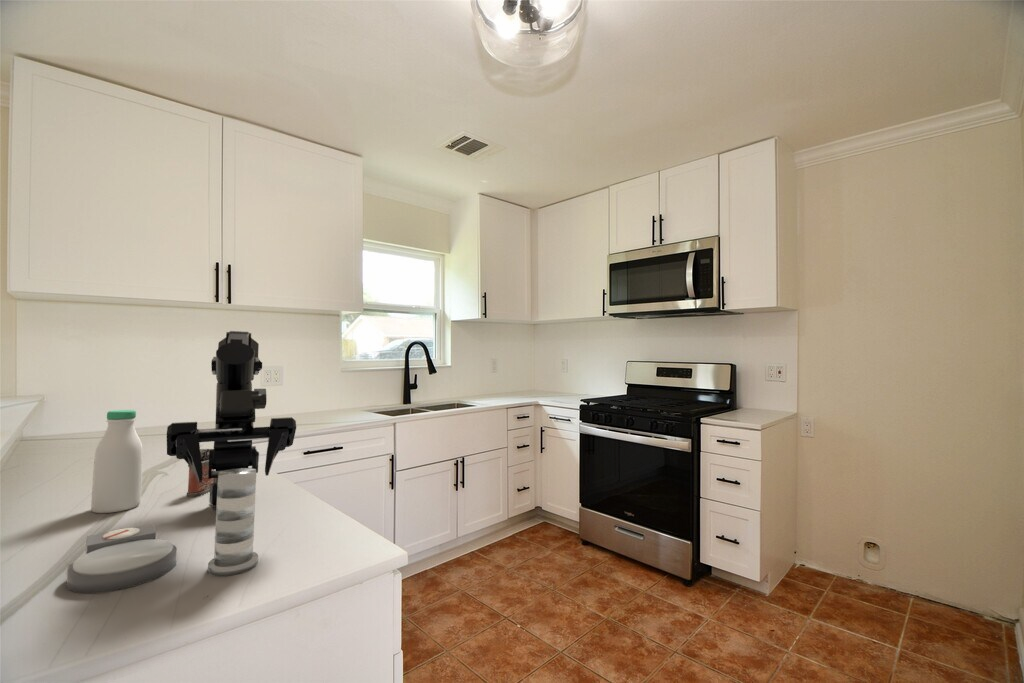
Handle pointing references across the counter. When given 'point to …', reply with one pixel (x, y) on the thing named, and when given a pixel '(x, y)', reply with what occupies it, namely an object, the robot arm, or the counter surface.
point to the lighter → (202, 488)
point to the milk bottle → (118, 465)
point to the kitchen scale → (121, 560)
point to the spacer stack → (234, 523)
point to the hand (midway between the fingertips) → (235, 477)
